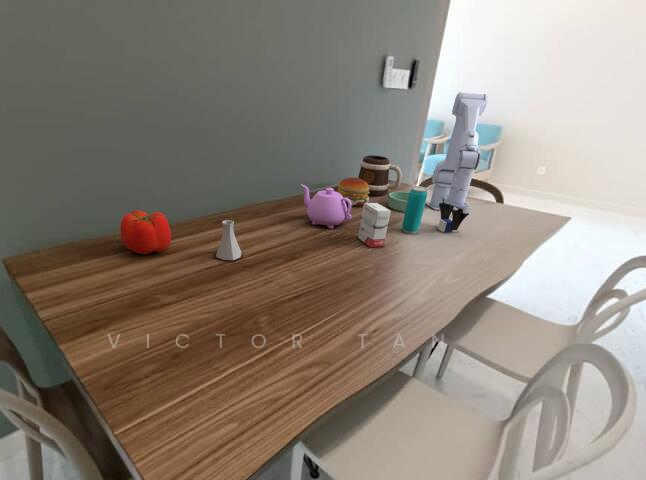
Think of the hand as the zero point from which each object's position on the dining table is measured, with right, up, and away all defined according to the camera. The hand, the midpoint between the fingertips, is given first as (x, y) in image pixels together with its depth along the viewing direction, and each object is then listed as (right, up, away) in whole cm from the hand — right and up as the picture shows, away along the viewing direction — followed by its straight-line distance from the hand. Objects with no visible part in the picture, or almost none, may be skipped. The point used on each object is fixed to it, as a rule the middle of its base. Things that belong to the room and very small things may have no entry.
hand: (448, 226), depth 140 cm
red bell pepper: (-97, -12, -28) cm, 101 cm away
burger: (-31, +14, +23) cm, 41 cm away
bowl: (-9, +12, +22) cm, 26 cm away
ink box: (-31, -8, -13) cm, 34 cm away
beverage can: (-15, -2, -2) cm, 15 cm away
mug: (-17, +22, +38) cm, 48 cm away
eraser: (0, -1, +1) cm, 1 cm away
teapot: (-44, +1, +1) cm, 44 cm away
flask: (-74, -14, -28) cm, 80 cm away
